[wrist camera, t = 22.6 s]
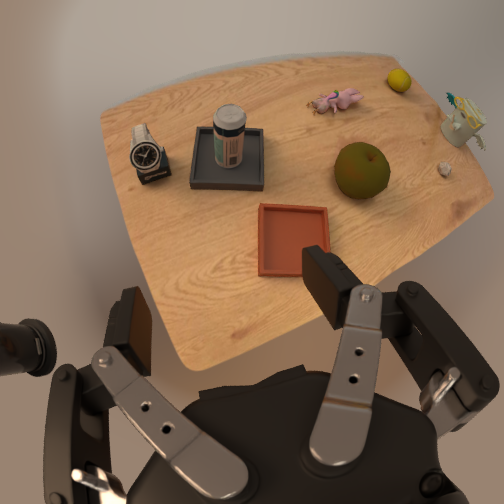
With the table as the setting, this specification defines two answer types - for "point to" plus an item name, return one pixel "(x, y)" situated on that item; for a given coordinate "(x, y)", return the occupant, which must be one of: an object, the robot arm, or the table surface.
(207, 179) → the grey tray
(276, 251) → the terracotta tray
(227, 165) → the beer can
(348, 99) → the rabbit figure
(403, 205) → the table surface
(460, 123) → the character sculpture
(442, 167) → the game die
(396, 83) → the tennis ball
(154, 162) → the watch
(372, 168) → the apple
